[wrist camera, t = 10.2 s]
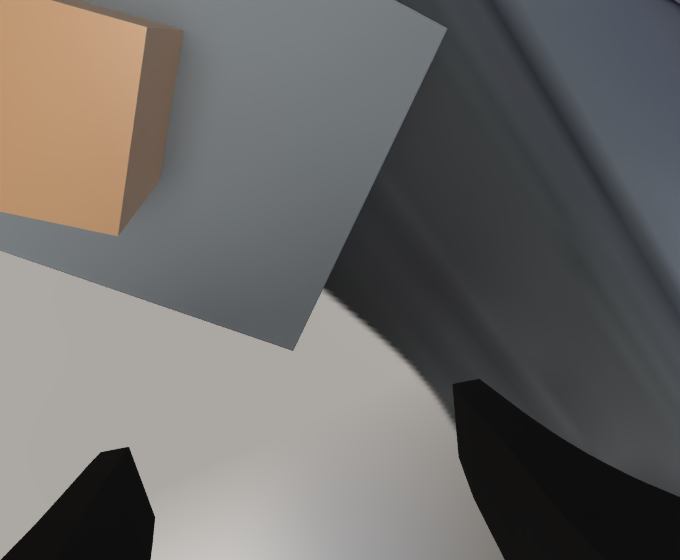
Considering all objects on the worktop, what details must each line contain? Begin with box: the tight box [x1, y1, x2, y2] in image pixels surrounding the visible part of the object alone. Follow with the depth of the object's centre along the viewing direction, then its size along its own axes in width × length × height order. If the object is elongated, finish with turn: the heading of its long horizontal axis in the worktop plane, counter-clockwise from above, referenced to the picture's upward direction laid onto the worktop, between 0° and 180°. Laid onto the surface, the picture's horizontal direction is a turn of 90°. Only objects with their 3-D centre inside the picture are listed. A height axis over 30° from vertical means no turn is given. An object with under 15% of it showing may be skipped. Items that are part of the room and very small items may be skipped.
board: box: [0, 0, 447, 351], centre depth 16 cm, size 18×12×4 cm, turn 65°
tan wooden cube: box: [0, 0, 184, 236], centre depth 15 cm, size 5×5×6 cm
